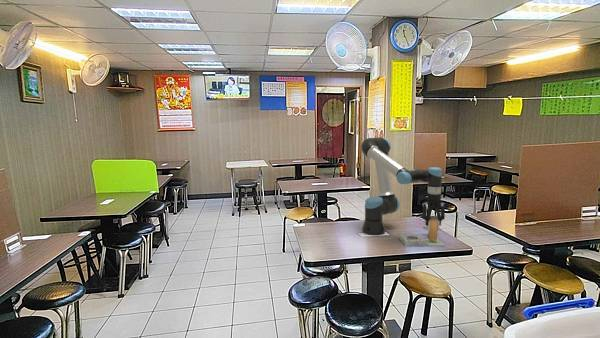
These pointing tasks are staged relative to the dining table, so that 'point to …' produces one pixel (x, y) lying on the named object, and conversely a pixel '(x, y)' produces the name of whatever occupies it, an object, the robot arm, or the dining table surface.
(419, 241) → the housing
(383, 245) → the dining table surface
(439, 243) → the mat
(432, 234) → the orange tall cylinder
